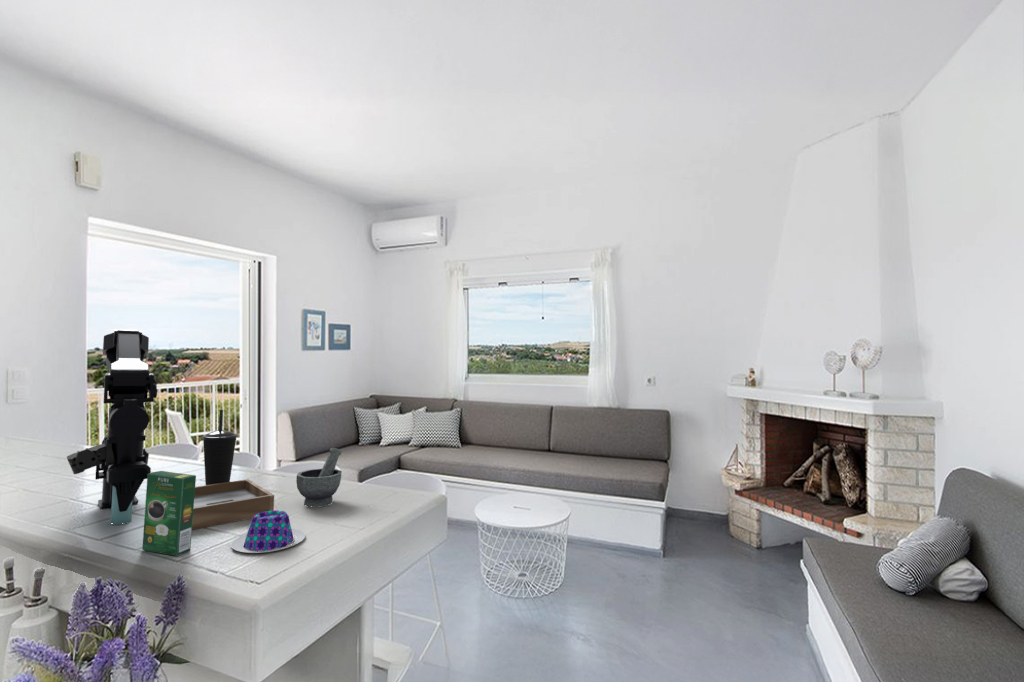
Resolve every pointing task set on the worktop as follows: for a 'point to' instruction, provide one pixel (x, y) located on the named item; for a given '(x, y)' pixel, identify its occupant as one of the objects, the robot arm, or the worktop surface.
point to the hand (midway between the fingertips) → (121, 509)
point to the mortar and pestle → (320, 482)
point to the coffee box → (169, 512)
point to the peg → (116, 515)
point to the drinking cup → (218, 454)
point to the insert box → (229, 503)
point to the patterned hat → (268, 533)
